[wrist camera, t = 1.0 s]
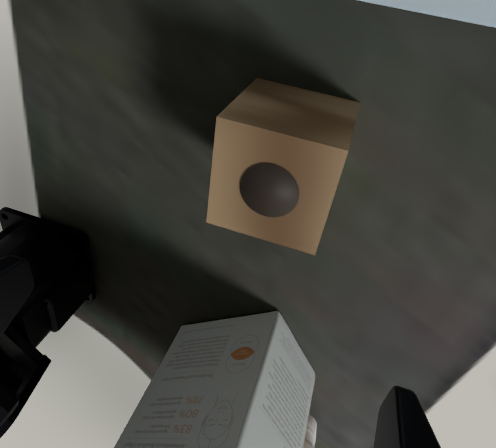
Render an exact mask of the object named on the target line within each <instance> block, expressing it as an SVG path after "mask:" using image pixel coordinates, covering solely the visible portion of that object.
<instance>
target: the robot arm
mask: <svg viewBox="0 0 496 448" xmlns="http://www.w3.org/2000/svg"><path fill="white" fill-rule="evenodd" d="M0 222H1V225H2V229H3V231H1V232H0V438H1V437H2V436H3V434H4V433H5V432H6V431H7V430H8V429H9V427H10V426H11V425H12V424H13V422H14V421H15V419H16V418H17V416H18V415H19V413H20V411H21V410H22V408H23V406H24V405H25V403H26V402H27V400H28V398H29V397H30V395H31V393H32V392H33V390H34V388H35V387H36V385H37V384H38V382H39V380H40V379H41V377H42V375H43V374H44V372H45V371H46V369H47V367H48V366H49V364H50V362H51V360H50V359H49V358H48V357H47V356H46V355H42V354H41V353H40V352H39V351H38V350H37V349H36V347H37V346H38V344H39V343H40V342H41V341H42V340H43V339H44V338H45V337H46V336H47V334H48V333H49V332H50V331H52V332H57V331H58V330H60V329H61V328H62V326H63V325H64V324H65V323H66V322H67V321H68V319H69V318H70V317H71V316H72V315H73V314H74V313H75V311H76V310H77V309H78V308H79V307H80V306H81V305H82V303H83V302H86V303H92V302H93V301H94V299H95V298H96V294H95V287H94V279H93V272H92V264H91V257H90V249H89V242H88V237H87V236H86V234H85V233H83V232H82V231H79V230H76V229H73V228H70V227H67V226H64V225H61V224H57V223H54V222H51V221H48V220H45V219H42V218H39V217H35V216H33V215H29V214H26V213H23V212H20V211H17V210H14V209H11V208H8V207H4V208H2V209H1V210H0ZM374 448H441V447H440V445H439V443H438V441H437V439H436V437H435V435H434V432H433V430H432V428H431V426H430V424H429V422H428V419H427V417H426V415H425V413H424V411H423V409H422V407H421V404H420V402H419V400H418V398H417V396H416V394H415V393H414V392H413V391H411V390H409V389H406V388H403V387H400V386H394V387H393V388H392V389H391V390H390V392H389V393H388V395H387V396H386V398H385V400H384V401H383V403H382V404H381V406H380V409H379V413H378V420H377V428H376V435H375V442H374Z"/></svg>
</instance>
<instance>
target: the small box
mask: <svg viewBox="0 0 496 448" xmlns="http://www.w3.org/2000/svg"><path fill="white" fill-rule="evenodd" d="M314 382H315V372H314V370H313V369H312V367H311V365H310V364H309V362H308V360H307V359H306V357H305V355H304V353H303V352H302V350H301V348H300V347H299V345H298V343H297V341H296V340H295V338H294V336H293V334H292V333H291V331H290V329H289V327H288V326H287V324H286V322H285V321H284V319H283V317H282V316H281V314H280V313H279V312H278V311H274V312H268V313H262V314H256V315H249V316H242V317H236V318H229V319H223V320H216V321H210V322H203V323H197V324H190V325H183V326H181V328H180V330H179V331H178V333H177V335H176V337H175V339H174V341H173V342H172V344H171V346H170V348H169V350H168V351H167V353H166V355H165V357H164V359H163V360H162V362H161V364H160V366H159V368H158V370H157V371H156V373H155V375H154V377H153V379H152V380H151V382H150V384H149V386H148V388H147V389H146V391H145V393H144V395H143V397H142V398H141V400H140V402H139V404H138V406H137V407H136V409H135V411H134V413H133V415H132V416H131V418H130V420H129V422H128V424H127V425H126V427H125V429H124V431H123V433H122V434H121V436H120V438H119V440H118V442H117V443H116V445H115V447H114V448H303V444H304V439H305V433H306V427H307V421H308V415H309V410H310V404H311V398H312V393H313V387H314Z"/></svg>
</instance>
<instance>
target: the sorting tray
mask: <svg viewBox="0 0 496 448" xmlns="http://www.w3.org/2000/svg"><path fill="white" fill-rule="evenodd" d="M359 1H364V2H369V3H374V4H379V5H384V6H389V7H394V8H399V9H404V10H409V11H414V12H419V13H424V14H429V15H434V16H439V17H444V18H449V19H454V20H459V21H464V22H470V23H475V24H480V25H485V26H490V27H495V28H496V0H359Z"/></svg>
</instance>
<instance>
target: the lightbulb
mask: <svg viewBox="0 0 496 448" xmlns="http://www.w3.org/2000/svg"><path fill="white" fill-rule="evenodd" d="M316 428H317V423H316V421H315V419H314V418H313V417H312V416H311V415H310V414H309V415H308V421H307V427H306V433H305V439H304V444H303V448H314V446H315V441H316V438H315V437H316Z"/></svg>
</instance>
